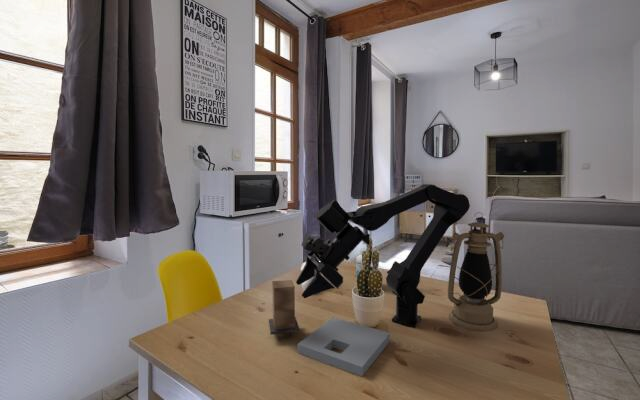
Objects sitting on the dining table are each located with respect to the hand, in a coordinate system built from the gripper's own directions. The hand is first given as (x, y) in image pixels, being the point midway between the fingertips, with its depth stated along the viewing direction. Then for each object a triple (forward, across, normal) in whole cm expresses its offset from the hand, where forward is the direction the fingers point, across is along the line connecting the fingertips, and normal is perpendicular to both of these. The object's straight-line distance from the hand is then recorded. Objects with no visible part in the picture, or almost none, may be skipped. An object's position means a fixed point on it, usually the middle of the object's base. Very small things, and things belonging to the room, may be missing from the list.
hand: (299, 289), depth 81 cm
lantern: (-26, +4, +41) cm, 49 cm away
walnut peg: (+11, 0, +5) cm, 12 cm away
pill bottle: (-12, -27, +28) cm, 41 cm away
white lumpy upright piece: (+2, -30, +14) cm, 33 cm away
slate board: (+1, +9, +14) cm, 17 cm away
